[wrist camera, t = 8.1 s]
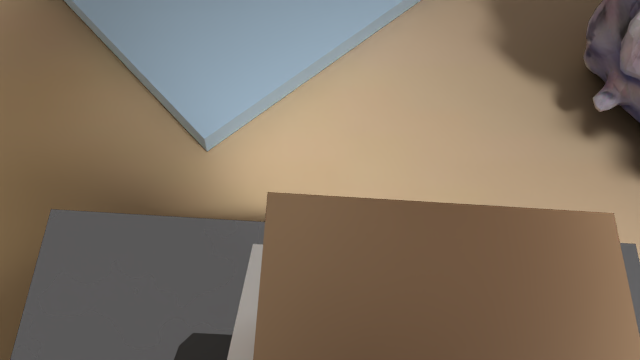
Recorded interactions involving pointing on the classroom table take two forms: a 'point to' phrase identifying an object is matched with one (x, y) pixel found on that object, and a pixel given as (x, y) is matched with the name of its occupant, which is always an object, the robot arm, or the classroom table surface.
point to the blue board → (230, 50)
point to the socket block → (147, 284)
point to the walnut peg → (440, 282)
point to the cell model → (615, 54)
